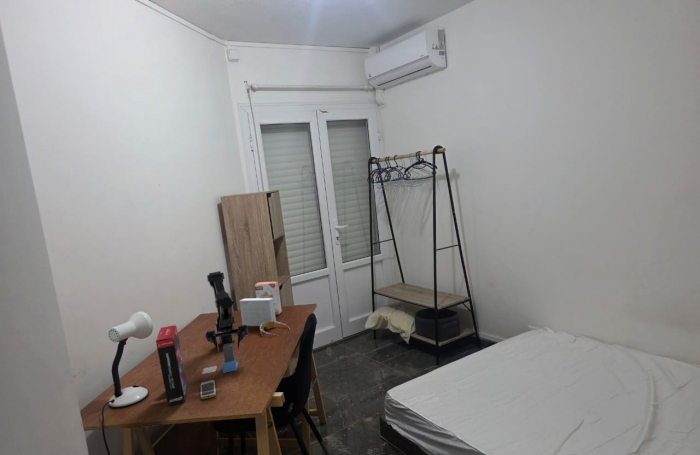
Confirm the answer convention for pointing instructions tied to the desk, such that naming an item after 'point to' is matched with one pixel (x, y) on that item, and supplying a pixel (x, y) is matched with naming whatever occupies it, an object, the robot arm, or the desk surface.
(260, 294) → the cracker box
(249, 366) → the desk surface
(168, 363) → the graphics card box
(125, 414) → the desk surface
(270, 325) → the sunglasses
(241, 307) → the skincare box
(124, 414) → the desk surface
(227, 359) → the tall grey square pillar
